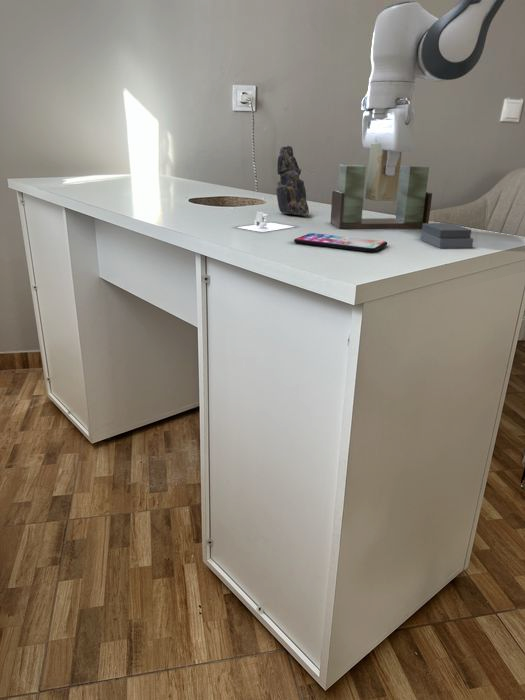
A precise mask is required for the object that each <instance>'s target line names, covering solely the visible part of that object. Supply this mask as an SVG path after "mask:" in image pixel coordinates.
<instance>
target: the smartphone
mask: <svg viewBox="0 0 525 700" xmlns="http://www.w3.org/2000/svg"><path fill="white" fill-rule="evenodd" d="M293 242H294V243H295V244H303V245H312V246H320V247H328V248H336V249H337V248H338V249H342V250H343V249H346V250H352V251H360V252H367V253H373V252H377V251H379V250H381V249H382V248H384V247H386V246H387V245H388V242H387V241H386V240H377V239H371V238H370V239H369V238H362V237H361V238H360V237H353V236H351V237H350V236H344V235H343V236H342V235H334V234H325V233H316V232H309V233H307V234H304V235H302V236H299V237H296V238H294V239H293Z"/></svg>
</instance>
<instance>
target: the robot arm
mask: <svg viewBox="0 0 525 700" xmlns="http://www.w3.org/2000/svg"><path fill="white" fill-rule="evenodd" d="M505 1H506V0H459V1H458V3H457V4H456V5H455V6H454V7H453V8H451V9H450V10H448V11H447V12H446V13H445V14H443V15H442V16H440V17H439V18H438V17H436V16H435V15H433V14H431V13H430V12H428V11H427V10H426V9H425V8H423V7H422V6H421V4H420V3H419V2H417V1H413V0H411V1H408V0H407V1H401V2H397V3H394V4H391V5H388V6H387V7H385V8H384V9H382V11H380V13H379V14H378V15H377V17H376V20H375V23H374V27H373V34H372V40H371V50H370V51H371V52H370V62H371V73H370V77H369V79H368V88H367V91H366V94H365V96H364V97H363V98H362V100H361V106H360V108H361V111H364V112H363V113H362V126H361V131H362V132H361V141H362V146H363V149H368V150H370V146H371V143H380V144H381V148H382V150H386V151H387V157H388V158H387V162H386V166H384V174H385V175H388V176H393V175H394V174H395V167H396V164H397V162H398V159H399V156H400V152H402V153H406V152H407V153H409V152H410V153H411V152H412V150H413V149H414V147H415V140H416V139H415V136H416V111H415V110H414V100H415V90H416V82H417V78H419V79H423V80H427V81H430V82H434V83H442V82H446V81H451V80H457V79H459V78H462V77H464V76H466V75H467V74H468V73H470V72H472V70H473V69H474V68H475V66H476V65H478V62H479V61H480V59H481V56H482V54H483V52H484V49H485V44H486V40H487V36H488V32H489V29H490V26H491V24H492V22H493V20H494V18H495V17H496V15H497V13H498V12H499V10H500V9H501V7H502V6H503V4H504V2H505Z"/></svg>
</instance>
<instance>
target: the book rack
mask: <svg viewBox="0 0 525 700" xmlns="http://www.w3.org/2000/svg"><path fill="white" fill-rule="evenodd" d="M366 172H367V166H366V165H361V164H339V170H338V181H337V182H338V183H337V184H338V185H337V189H332V191H331V209H330V224H331V225H332V226H334V227H336V228H338V229H339V230H347V229H354V230H355V229H358V230H359V229H361V230H362V229H366V230H367V229H370V230H371V229H374V230H375V229H422V225H423V223H430V214H431V209H432V208H431V206H432V201H433V200H432V198H433V193H432V192H429V191H427V188H428V181H429V174H430V173H429V172H430V167H429V166H426V165H425V166H424V165H413V164H412V165H411V164H410V165H409V164H408V165H406V164H405V165H404V164H403V165H401V164H400V172H399V180H398V190H397V199H396V209H395V210H396V211H395V217H394V218H392V217H389V218H387V217H383V218H380V217H378V218H377V217H375V218H374V217H373V218H372V217H371V218H368V217H367V218H366V217H365V218H363V210H364V209H363V208H364V198H365V196H364V195H365V185H366Z"/></svg>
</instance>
